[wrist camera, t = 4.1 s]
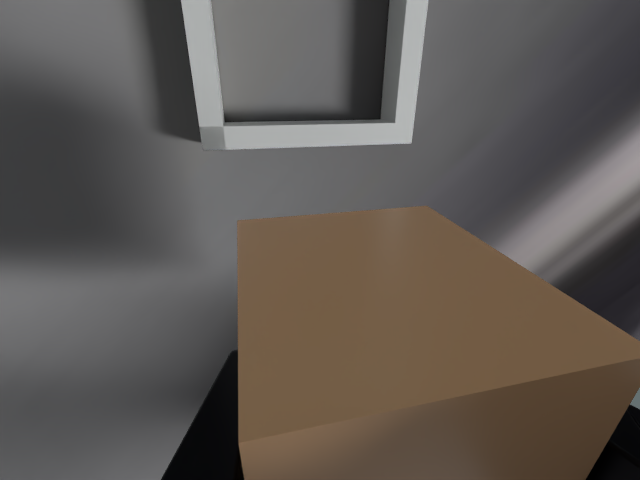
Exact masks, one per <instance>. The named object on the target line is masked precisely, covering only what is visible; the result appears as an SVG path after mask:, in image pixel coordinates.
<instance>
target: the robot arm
mask: <svg viewBox="0 0 640 480" xmlns="http://www.w3.org/2000/svg"><path fill="white" fill-rule="evenodd" d="M161 480H244V474H243V468H242V462H241V456H240V449H239V440H238V350H234V351H232V352H231V353H230V354H229V356H228V358H227V360H226V362H225V364H224V365H223V367H222V369H221V371H220V373H219V375H218V376H217V378H216V380H215V382H214V384H213V385H212V387H211V389H210V391H209V393H208V395H207V396H206V398H205V400H204V402H203V404H202V406H201V407H200V409H199V411H198V413H197V415H196V416H195V418H194V420H193V422H192V424H191V426H190V427H189V429H188V431H187V433H186V435H185V437H184V438H183V440H182V442H181V444H180V446H179V447H178V449H177V451H176V453H175V455H174V457H173V458H172V460H171V462H170V464H169V466H168V468H167V469H166V471H165V473H164V475H163V477H162V479H161ZM586 480H640V409H638V408H636V407H634V406H632V405H629V406H628V408H627V410H626V411H625V413H624V415H623V417H622V418H621V420H620V422H619V423H618V425H617V427H616V429H615V430H614V432H613V434H612V435H611V437H610V439H609V440H608V442H607V444H606V446H605V447H604V449H603V451H602V452H601V454H600V456H599V458H598V459H597V461H596V463H595V464H594V466H593V468H592V470H591V471H590V473H589V475H588V476H587V478H586Z"/></svg>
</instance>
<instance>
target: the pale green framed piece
mask: <svg viewBox="0 0 640 480" xmlns="http://www.w3.org/2000/svg"><path fill="white" fill-rule="evenodd" d="M181 3H182V10H183V17H184V24H185V31H186V38H187V45H188V52H189V59H190V66H191V72H192V79H193V86H194V93H195V100H196V107H197V114H198V121H199V128H200V135H201V142H202V149H203V150H231V149H261V148H290V147H319V146H349V145H378V144H407V143H412V134H413V126H414V117H415V109H416V100H417V92H418V83H419V75H420V66H421V58H422V49H423V41H424V32H425V24H426V16H427V7H428V0H390V1H389V14H388V27H387V40H386V53H385V66H384V79H383V92H382V105H381V118H380V119H376V120H320V121H264V122H225V120H224V112H223V103H222V94H221V85H220V76H219V67H218V58H217V49H216V41H215V32H214V23H213V14H212V5H211V0H181Z"/></svg>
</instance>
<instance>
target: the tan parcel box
mask: <svg viewBox="0 0 640 480" xmlns="http://www.w3.org/2000/svg"><path fill="white" fill-rule="evenodd" d="M237 246H238V440H239V449H240V456H241V462H242V468H243V474H244V480H586V478H587V476H588V475H589V473H590V471H591V470H592V468H593V466H594V464H595V463H596V461H597V459H598V458H599V456H600V454H601V452H602V451H603V449H604V447H605V446H606V444H607V442H608V440H609V439H610V437H611V435H612V434H613V432H614V430H615V429H616V427H617V425H618V423H619V422H620V420H621V418H622V417H623V415H624V413H625V411H626V410H627V408H628V406H629V405H630V403H631V401H632V400H633V398H634V396H635V394H636V393H637V391H638V389H639V388H640V341H638V340H637V339H635V338H633V337H632V336H630V335H629V334H627V333H626V332H624V331H622V330H621V329H619V328H618V327H616V326H615V325H613V324H612V323H610V322H608V321H607V320H605V319H604V318H602V317H601V316H599V315H597V314H596V313H594V312H593V311H591V310H590V309H588V308H586V307H585V306H583V305H582V304H580V303H579V302H577V301H575V300H574V299H572V298H571V297H569V296H568V295H566V294H564V293H563V292H561V291H560V290H558V289H557V288H555V287H554V286H552V285H550V284H549V283H547V282H546V281H544V280H543V279H541V278H539V277H538V276H536V275H535V274H533V273H532V272H530V271H528V270H527V269H525V268H524V267H522V266H521V265H519V264H517V263H516V262H514V261H513V260H511V259H510V258H508V257H506V256H505V255H503V254H502V253H500V252H499V251H497V250H495V249H494V248H492V247H491V246H489V245H488V244H486V243H485V242H483V241H481V240H480V239H478V238H477V237H475V236H474V235H472V234H470V233H469V232H467V231H466V230H464V229H463V228H461V227H459V226H458V225H456V224H455V223H453V222H452V221H450V220H448V219H447V218H445V217H444V216H442V215H441V214H439V213H437V212H436V211H434V210H433V209H431V208H430V207H428V206H418V207H405V208H392V209H379V210H366V211H353V212H340V213H328V214H315V215H302V216H289V217H276V218H263V219H250V220H238V221H237Z"/></svg>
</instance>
